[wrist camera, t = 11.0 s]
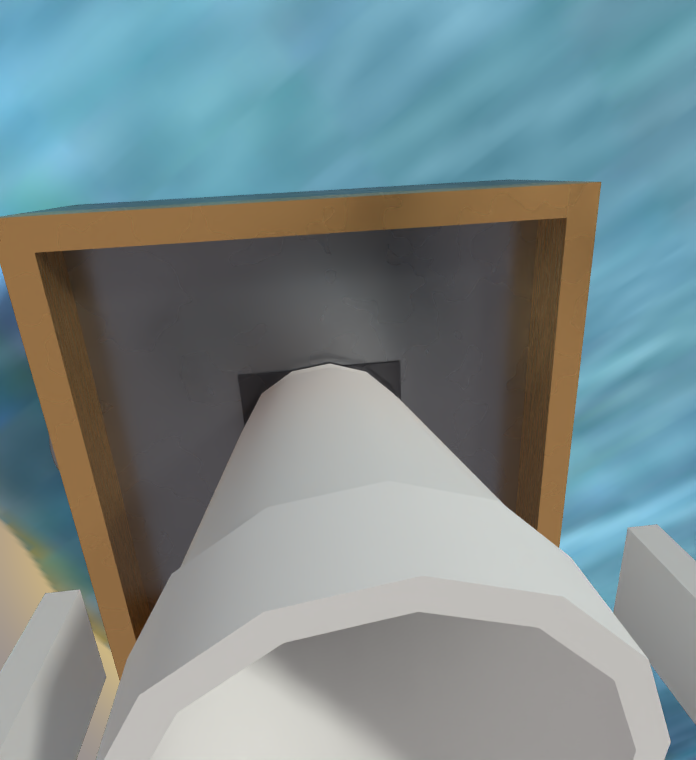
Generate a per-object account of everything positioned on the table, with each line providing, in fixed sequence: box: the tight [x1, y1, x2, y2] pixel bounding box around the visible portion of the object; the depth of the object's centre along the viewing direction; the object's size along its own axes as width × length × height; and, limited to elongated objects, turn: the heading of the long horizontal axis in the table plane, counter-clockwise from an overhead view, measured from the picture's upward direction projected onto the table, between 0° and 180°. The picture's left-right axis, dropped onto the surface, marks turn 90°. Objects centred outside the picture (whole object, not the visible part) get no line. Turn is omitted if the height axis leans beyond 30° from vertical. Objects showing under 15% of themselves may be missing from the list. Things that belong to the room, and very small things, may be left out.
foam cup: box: [96, 364, 671, 760], centre depth 15 cm, size 10×9×13 cm
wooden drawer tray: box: [0, 180, 601, 680], centre depth 22 cm, size 20×18×7 cm
